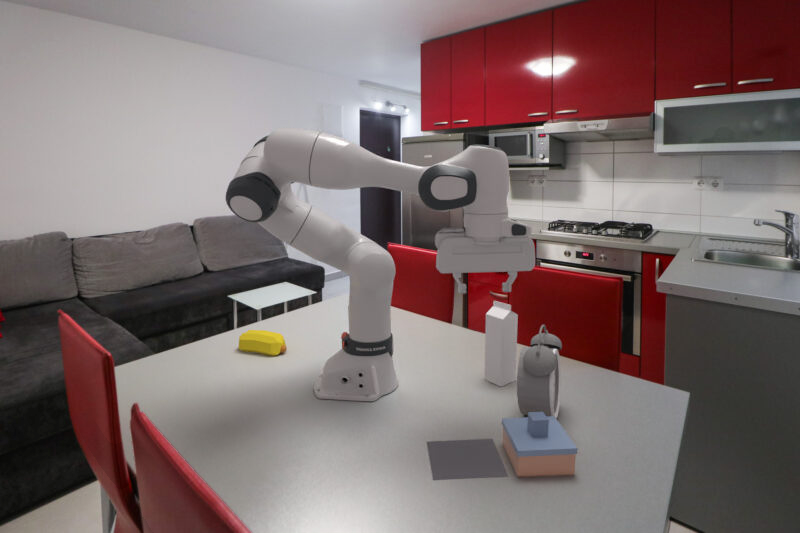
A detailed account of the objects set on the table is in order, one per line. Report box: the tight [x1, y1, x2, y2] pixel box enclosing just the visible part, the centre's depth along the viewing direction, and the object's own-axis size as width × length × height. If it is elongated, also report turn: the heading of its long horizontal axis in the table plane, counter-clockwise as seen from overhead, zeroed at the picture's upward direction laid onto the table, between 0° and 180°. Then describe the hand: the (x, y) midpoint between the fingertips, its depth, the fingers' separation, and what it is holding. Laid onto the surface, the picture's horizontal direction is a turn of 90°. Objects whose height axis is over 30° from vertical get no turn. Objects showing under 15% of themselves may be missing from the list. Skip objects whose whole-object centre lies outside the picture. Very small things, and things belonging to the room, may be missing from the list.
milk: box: [484, 300, 519, 388], centre depth 120 cm, size 6×6×22 cm
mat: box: [426, 438, 509, 481], centre depth 89 cm, size 14×12×1 cm
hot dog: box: [238, 329, 287, 357], centre depth 145 cm, size 18×7×8 cm
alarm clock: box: [516, 324, 563, 419], centre depth 102 cm, size 16×9×22 cm, turn 154°
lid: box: [501, 412, 578, 457], centre depth 87 cm, size 11×11×5 cm
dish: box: [502, 426, 577, 478], centre depth 88 cm, size 11×11×5 cm
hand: (484, 292), depth 94 cm, fingers open, 8 cm apart
